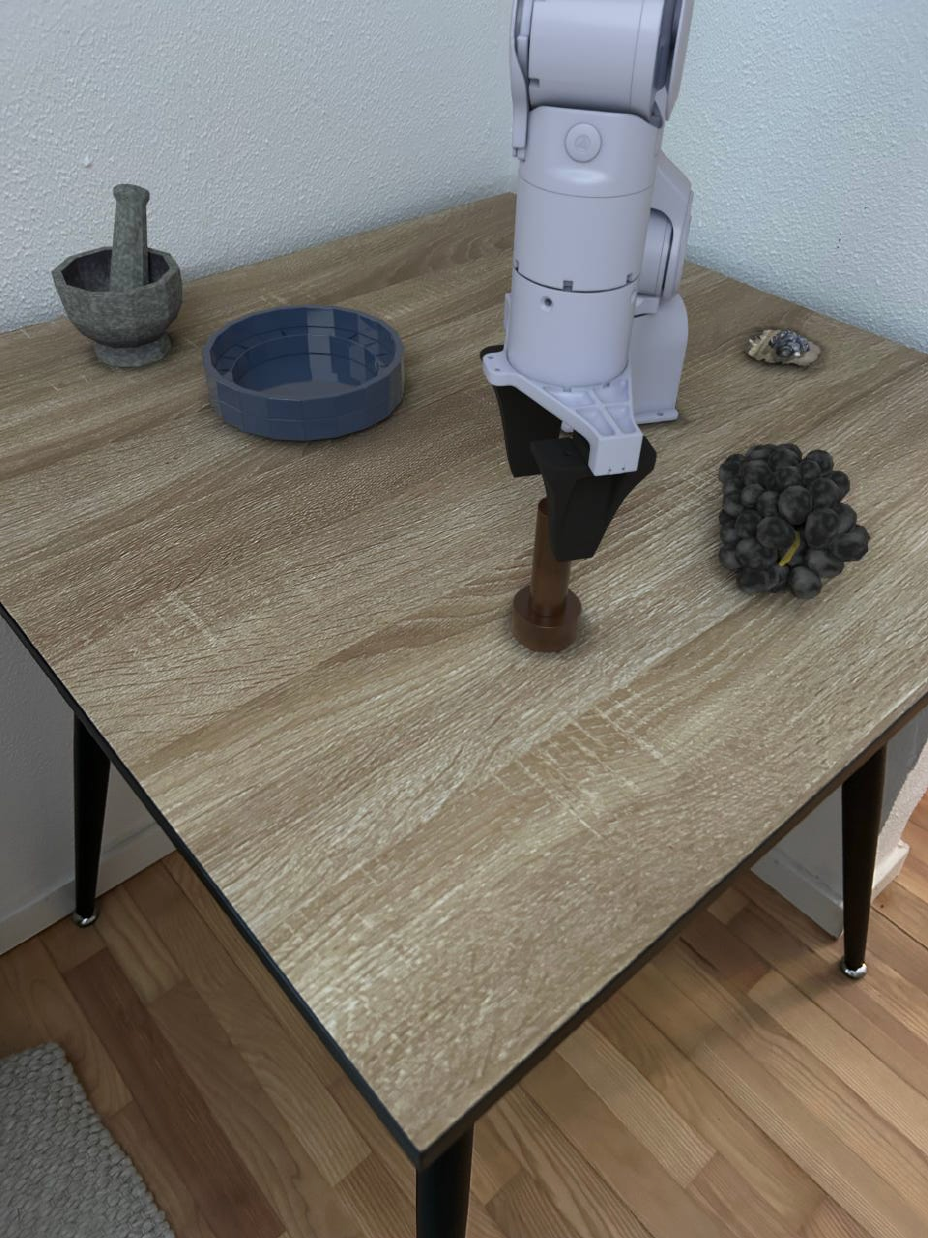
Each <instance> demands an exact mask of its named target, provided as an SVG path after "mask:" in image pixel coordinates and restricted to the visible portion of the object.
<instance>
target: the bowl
mask: <svg viewBox="0 0 928 1238" xmlns="http://www.w3.org/2000/svg"><path fill="white" fill-rule="evenodd" d="M201 357H202V365H203V371H204V375H205V382H206V389H207V395H208V399H209V405H210V407H211V408H212V410H214V412H215V413H216V414H217V415H218V417H219V418H220V419H221V420H222V422H225V423H227V424H228V425H231V426H232V427H234V428H236V429H238V430H240V431H242V432H244V433H247V434H252V435H256V436H259V437H264V438H268V439H273V440H281V441H282V440H283V441H298V442H309V441H316V440H325V439H334V438H339V437H343V436H346V435H349V434H352V433H356V432H359V431H362V430H365V429H368V428H370V427H372V426H373V425H375V424H378V422H380V421H383V420H384V419H386V418H387V417H389V416H390V415H391V414H392V413H393V412H394V410H395V409H396V408H397V407H398V406H399V404H401V402H402V401H403V396H404V393H405V389H406V388H405V387H406V367H405V365H406V364H405V361H406V359H405V345H404V342H403V341H402V338H401V336H400V334H399V331H397V330H396V329H395V328H393V326H392V325H390V324H388V323H387V321H385V320H384V319H383V318H382V319H381V318H379V317H377V316H374V315H372V314H371V313H368V312H365V311H363V310H359V309H354V308H349V307H345V306H340V305H333V304H332V305H331V304H313V303H312V304H311V303H301V304H291V305H290V304H289V305H280V306H279V305H278V306H274V307H269V308H264V309H259V310H257V311H253V312H248V313H246V314H244V315H241V316H240V317H236V318H234V319H232V320H230V321H228V322H226V323H225V324H223V325H222V326H221V327H219V328H218V329H217V330H215V331H214V332H213V333H212V334H210V335H209V337H208V338H207V340H206V343H205V344H204V346H203V348H202V349H201Z"/></svg>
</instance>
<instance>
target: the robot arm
mask: <svg viewBox="0 0 928 1238" xmlns="http://www.w3.org/2000/svg"><path fill="white" fill-rule="evenodd" d="M695 1H696V0H512V5H511V13H510V21H509V23H510V24H509V36H508V37H509V40H508V65H509V66H508V67H509V77H510V78H509V79H510V93H511V100H512V133H511V134H512V137H511V147H512V157H513V158H517V160H519V163H518V165H519V166H518V172H517V173H518V174H517V186H516V187H517V189H516V190H517V191H516V204H515V205H516V206H515V218H514V219H515V221H514V223H515V224H514V238H513V239H514V240H513V253H512V254H513V255H512V271H511V289H510V292H508V293H507V292H506V293H504V307H503V309H504V310H503V326H502V327H503V329H504V331H505V338H504V344H495V345H489V346H486V347H484V348H482V349H481V350H480V352H479V359H480V360H481V362H482V372H483V374H484V376H485V378H486V379H487V381H488V383H489V384H491V385H492V389H493V392H494V395H495V398H496V402H497V403H496V404H497V406H498V407H497V408H498V411H499V416H500V422H501V426H502V434H503V440H504V445H505V452H506V453H505V454H506V458H507V462H508V467H509V470H510V472H511V475H512V477H513V478H514V479H515V478H516V479H517V478H525V477H532V476H539V475H541V477H542V481H543V485H544V489H545V495H546V497H547V502H548V520H549V539H550V545H551V549H552V553H553V556H554V558H555V559H556V561H557V562H566V561H572V562H573V561H579V560H580V561H581V560H586V559H592V558H593V557H594V556H595V555H596V553H597V551H598V549H599V547H600V545H601V543H602V541H603V538H604V537H605V534H606V533H607V531H608V528H609V527H610V524H611V522H612V521H613V519H614V517H615V515H616V513H617V511H618V510H619V508H620V507H621V505H622V504H623V502H624V501H625V499H626V498H627V497H628V496H629V494H631V492H632V491H633V490H634V489H635V488H636V487H637V486H638V485H639V484H640V483H641V482H642V481H643V480H644V479H645V478H646V477H648V475H650V474H651V473H652V472H653V471H654V470H655V466H656V463H657V457H658V453H657V451H656V449H655V448H654V446H653V445H652V443H651V442H650V441H649V440H648V438H647V437H646V435H644V433H643V432H642V431H641V429H640V427H639V425H643V424H651V423H659V422H669V421H675V420H677V419H678V417H679V412H678V410H677V409H676V404H677V399H678V395H679V394H678V393H679V388H680V384H681V380H682V379H681V378H682V375H683V368H684V363H685V359H686V352H687V348H688V343H689V342H688V341H689V317H688V312H687V307H686V304H685V301H684V300H683V298H682V296H681V294H680V293H679V291H680V285H681V282H682V281H681V280H682V275H683V269H684V264H685V260H686V259H685V258H686V253H687V247H688V243H689V242H688V241H689V235H690V230H691V225H692V217H693V216H692V215H691V214H692V208H693V202H694V196H695V192H694V190H693V189H692V182H691V180H690V179H689V178H688V176H687V175H685V173H684V172H683V171H682V170H680V168H679V167H678V166H677V165H676V164H675V163H674V162H673V161H672V160H671V159H670V158H669V157H668V156H667V155H666V154H665V152H663V150H662V145H663V139H664V133H665V127H666V122H669V120H670V117H671V116H672V112H673V111H674V108H675V105H676V103H677V100H678V97H679V94H680V90H681V87H682V86H681V84H682V80H683V74H684V68H685V63H686V57H687V52H688V46H689V41H690V40H689V39H690V33H691V28H692V21H693V15H694V8H695ZM561 431H563V432H565V433H572V438H571V437H570V436H567V437H560V434H561Z"/></svg>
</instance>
